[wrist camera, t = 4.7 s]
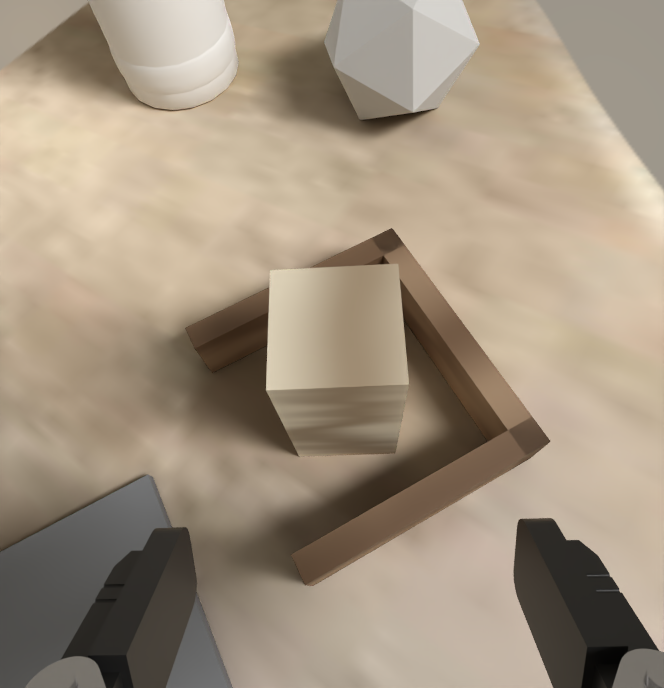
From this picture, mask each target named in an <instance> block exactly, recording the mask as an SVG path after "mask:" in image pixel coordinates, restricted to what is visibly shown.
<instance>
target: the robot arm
mask: <svg viewBox="0 0 664 688" xmlns="http://www.w3.org/2000/svg"><path fill="white" fill-rule="evenodd" d="M514 583H515V589H516V594H517V597H518V600H519V603H520V605H521V608H522V610H523V613H524V615H525V618H526V620H527V623H528V625H529V628H530V630H531V633H532V635H533V638H534V640H535V643H536V645H537V648H538V650H539V653H540V655H541V658H542V660H543V663H544V665H545V668H546V670H547V673H548V676H549V678H550V681H551V683H552V686H553V688H664V652H661V651H659V650H658V648H657V647H656V645H655V644H654V642H653V640H652V639H651V637H650V636H649V634H648V633H647V631H646V630H645V628H644V627H643V625H642V623H641V622H640V620H639V619H638V617H637V616H636V614H635V613H634V611H633V609H632V608H631V606H630V605H629V603H628V602H627V600H626V599H625V597H624V595H623V594H622V593H620V591H619V588H618V586H617V585H616V583H615V582H614V580H613V578H612V577H610V575H609V572H608V571H607V569H606V568H605V566H604V564H603V563H602V561H601V560H600V558H599V557H598V555H596V554H595V553H594V552H593V551H591V550H590V549H589V548H588V547H587V546H585V545H584V544H583V543H582V542H580V541H579V540H566V539H565V537H564V535H563V534H562V532H561V530H560V529H559V527H558V525H557V524H556V522H555V521H554V520H553V519H552V518H539V519H520V520H519V521H518V525H517V536H516V548H515V560H514ZM196 586H197V582H196V573H195V566H194V560H193V554H192V548H191V541H190V535H189V531H188V529H187V528H186V527H183V528H155V529H154V530H153V531H152V533H151V535H150V537H149V539H148V541H147V543H146V545H145V546H144V548H143V550H139V551H130V552H129V553H128V554H127V555H126V556H125V557H124V558H123V559H122V560H121V561H119V562H118V563H117V564H116V565H115V566H114V567H113V569H112V571H111V573H110V574H109V576H108V578H107V580H106V581H105V583H104V587H103V588H101V590H100V592H99V593H98V595H97V597H96V599H95V603H93V604H92V606H91V607H90V609H89V611H88V613H87V614H86V616H85V618H84V620H83V621H82V623H81V625H80V627H79V628H78V630H77V632H76V634H75V635H74V637H73V639H72V641H71V642H70V644H69V646H68V648H67V649H66V651H65V653H64V655H63V656H62V658H61V660H59V661H57V662H54V663H52V664H51V665H49V666H47V667H46V668H44V669H43V670H41V671H40V672H39V673H38V674H37V675H35V676H34V677H33V678H32V679H31V680H30V682H29V683H28V684H27V685H26V687H25V688H166V685H167V682H168V679H169V676H170V674H171V671H172V668H173V665H174V662H175V659H176V656H177V653H178V650H179V647H180V644H181V641H182V638H183V635H184V633H185V630H186V627H187V624H188V621H189V618H190V615H191V612H192V609H193V606H194V602H195V597H196Z"/></svg>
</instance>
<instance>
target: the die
mask: <svg viewBox="0 0 664 688" xmlns="http://www.w3.org/2000/svg"><path fill="white" fill-rule="evenodd" d="M324 43H325V46H326V49H327V51H328V54H329V57H330V59H331V62H332V64H333V67H334V69H335V71H336V73H337V75H338V77H339V79H340V81H341V83H342V85H343V87H344V89H345V91H346V93H347V95H348V97H349V99H350V101H351V103H352V105H353V107H354V109H355V111H356V113H357V115H358V117H359V119H360V120H364V119H371V118H378V117H385V116H392V115H399V114H406V113H413V112H419V111H424V110H430V109H435V108H438V107H439V105H440V104H441V102H442V101H443V99H444V98H445V96H446V95H447V93H448V92H449V90H450V89H451V87H452V86H453V84H454V83H455V81H456V80H457V78H458V76H459V75H460V73H461V72H462V70H463V69H464V67H465V66H466V64H467V63H468V61H469V60H470V58H471V57H472V55H473V54H474V52H475V51H476V49H477V48H478V46H479V45H480V44H479V41H478V39H477V36H476V34H475V31H474V29H473V26H472V24H471V21H470V19H469V16H468V14H467V11H466V9H465V6H464V4H463V1H462V0H337V4H336V7H335V10H334V13H333V16H332V19H331V22H330V25H329V28H328V32H327V35H326V38H325V41H324Z"/></svg>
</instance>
